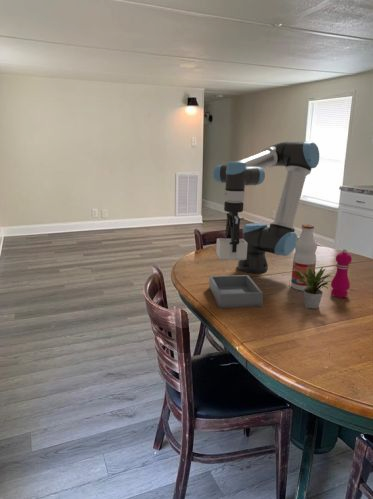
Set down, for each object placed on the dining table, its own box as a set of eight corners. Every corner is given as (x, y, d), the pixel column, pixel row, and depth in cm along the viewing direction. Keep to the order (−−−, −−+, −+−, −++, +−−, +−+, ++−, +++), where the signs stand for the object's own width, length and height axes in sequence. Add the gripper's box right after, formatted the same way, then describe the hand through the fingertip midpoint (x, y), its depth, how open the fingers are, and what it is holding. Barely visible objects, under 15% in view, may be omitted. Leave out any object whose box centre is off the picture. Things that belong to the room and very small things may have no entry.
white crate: (241, 254, 158) (242, 238, 156) (246, 260, 150) (247, 243, 149) (216, 254, 157) (216, 238, 155) (219, 260, 149) (220, 243, 148)
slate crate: (247, 286, 165) (247, 274, 164) (262, 306, 145) (263, 292, 144) (209, 288, 163) (209, 276, 162) (219, 308, 143) (219, 294, 142)
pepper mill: (340, 299, 152) (346, 252, 147) (326, 293, 159) (331, 247, 153) (352, 296, 156) (358, 250, 150) (338, 290, 162) (343, 246, 157)
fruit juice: (315, 291, 161) (323, 227, 153) (294, 291, 161) (300, 227, 153) (309, 283, 170) (315, 223, 162) (288, 283, 170) (293, 222, 162)
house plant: (326, 318, 135) (331, 275, 131) (288, 309, 142) (292, 268, 138) (334, 305, 147) (339, 265, 143) (299, 297, 154) (303, 259, 150)
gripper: (220, 198, 158) (217, 250, 163) (230, 204, 138) (226, 264, 143) (237, 198, 158) (234, 250, 164) (250, 205, 138) (246, 264, 144)
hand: (230, 256), depth 154 cm, fingers closed on white crate, 8 cm apart
